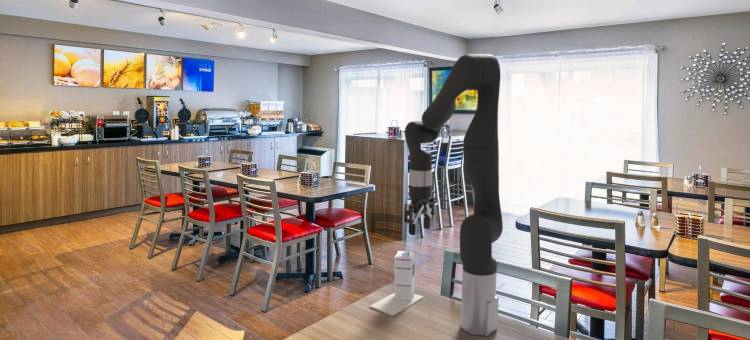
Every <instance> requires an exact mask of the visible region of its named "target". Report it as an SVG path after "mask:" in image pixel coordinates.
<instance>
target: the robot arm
mask: <svg viewBox="0 0 750 340" xmlns="http://www.w3.org/2000/svg"><path fill="white" fill-rule="evenodd" d="M500 87H501V66H500V63H499V60H498V59H497V57H496V56H495V55H494V54H489V53H469V54H463V55H461V56H460V57H459V58H458V59H457V60H456V62H455V63H454V65H453V66H452V68H451V70H450V72H449V74H448V75H447V77H446V78H445V81H444V83H443V85H442V87H441V89H440V90H439V92H438V94H437V95H436V97H435V98H434V99H433V100H432V102H431V103H430V104H429V105H428V107H427V108H425V110H424V112H423V113H422V116H421V120H417V121H415V120H414V121H413V120H412V121H409V122H408V123H407V124H406V126H405V128H404V138H405V141H406V146H407V150H408V155H409V173H408V197H409V198H410V199H411V201H410V203H405V204H404V210H403V211H404V214H403V223H406V224H407V225H408V234H409V235H411V236H415V235H416V231H417V230H416V229H417V225H416V222H417V220H418V219H419V218H420V216H423V229H426V230H430V229H431V219H432V216H435V213H436V212H435V211H436V208H435V206H436V199H435V197H433V172H432V170H433V168H432V165H433V164H432V163H433V162H432V161H433V155H432V153H431V151H429V150H424V149H422V148H421V145H420V144H430V143H433V142H435V141H436V140H437V139H438V137H439V136H440V132H441V130H442V128H443V126H444V125H445V124H446V123H447V122H448V121H449V120H450V119H451V118H452V116H453V115H454V113H455V110H456V100H457V98H458V97H459V96H460V95H462V94H463V93H464V92H466V91H477V98H476V99H477V100H476V102H477V105H476V109H475V113H474V116H473V118H472V120H471V122H470V123H469V125H468V128H467V130H466V132H465V134H464V137H463V143H462V144H463V146H462V147H463V148H462V149H463V151H462V152H463V154H462V155H463V165H464V169H465V172H466V175H467V177H468V180H469V182H470V184H471V186H472V190H473V203H474V206H473V213H472V214H470V215H469V216H467V217H466V218H464V219H463V221H462V222H461V224H460V229H459V254H460V255H459V257H460V261H461V263H462V270H461V271H462V276H461V278H462V279H461V306H460V307H461V310H460V311H461V314H460V327H461V329H462V330H463V331H464V332H465V333H468V334H470V335H473V336H483V337H489V336H490V335H491V334H492V333H494V332H496V330H497V329H498V322H499V321H498V319H499V318H498V317H499V300H500V299H499V296H497V294H496V293H497V272H498V270H497V269H498V261H497V260H496V259H495V258H494V257H493V252H492V249H493V248H492V246H493V243H495V242H496V241H497V240H499V239H500V238H501V236H502V234H503V229H504V228H503V214H502V209H501V200H500V169H499V167H500V166H499V165H500V159H499V157H500V156H499V152H500V151H499V149H500V147H499V130H498V129H499V101H500Z"/></svg>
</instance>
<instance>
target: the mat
mask: <svg viewBox="0 0 750 340" xmlns="http://www.w3.org/2000/svg"><path fill="white" fill-rule="evenodd" d="M424 297H425V296H423V295H420V294H417V293H415V294H414V297H413V300H412V301H405V300H397V299H395V292H393V293H391V294H390V295H387V296H386V297H384V298H382V299H380V300H378V301H376V302H374V303H372V304H370V305H369V308H371V309H374V310H375V311H379V312H381V313H384V314H386V315H389V316H392V317H394V316H395V315H397V314H399V313H401V312H402V311H404V310H406V309H407V308H409V307H411V306H413V305H414V304H416V303H418V302H420V301H421V300H423V299H424Z"/></svg>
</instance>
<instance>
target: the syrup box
mask: <svg viewBox="0 0 750 340" xmlns="http://www.w3.org/2000/svg"><path fill="white" fill-rule="evenodd" d="M415 259H416V255H415V252H414V251H410V250H397V252H396V253H395V255H394V293H395V299H397V300H405V301H412V300H413V297H414V294H416V275H415V274H416V271H415V269H416V267H415V266H416V261H415Z"/></svg>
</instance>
